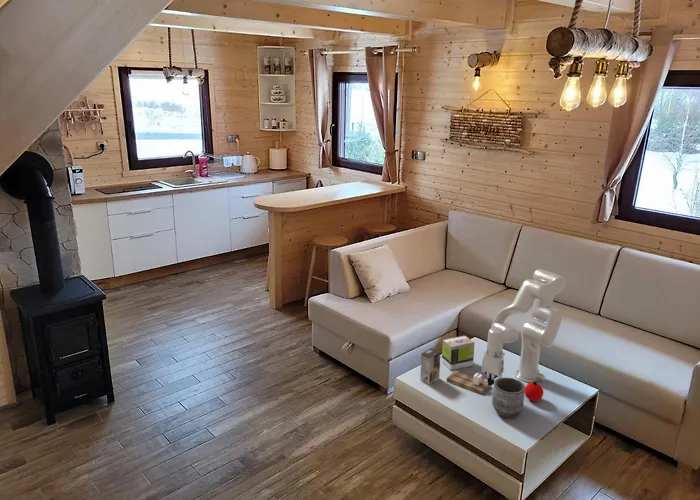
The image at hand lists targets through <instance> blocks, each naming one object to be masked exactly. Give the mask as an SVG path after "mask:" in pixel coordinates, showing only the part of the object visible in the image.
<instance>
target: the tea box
mask: <svg viewBox="0 0 700 500" xmlns="http://www.w3.org/2000/svg"><path fill="white" fill-rule="evenodd" d="M441 347H442V348H441V350H442V351H441V352H442V353H441V363H442V365H444V366H445V367H446V368H447V369H449V370H450V371H453V370H454V371H455V370H459V369H462V368H463V369H464V368H469V367H472V366H474V358H475V342H474V341H473V340H472V339H470V338H469V337H467V336H466V335H461V336H456V337H449V338H446V339H445V338H444V339H442V345H441Z"/></svg>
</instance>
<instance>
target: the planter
mask: <svg viewBox="0 0 700 500" xmlns="http://www.w3.org/2000/svg"><path fill="white" fill-rule="evenodd" d="M525 387H526V385H525V384H524V383H523V382H522V381H521V380H518V379H517V378H516V379H515V378H512V377H501V378H498V377H497V378H495V379H494V384H493V389H492V390H493V391H492V399H491V400H492V401H491V403H492V404H491V405H492V407H493V409H494V411H495V412H496V414H497V416H500V417H502V418H504V419H514V418H516V417H517V416H518V415H519V414H520V413H521V412H522V411H523V410H524V409H523V408H524V403H525V402H524V401H525V400H524V399H525Z"/></svg>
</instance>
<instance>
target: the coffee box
mask: <svg viewBox="0 0 700 500" xmlns="http://www.w3.org/2000/svg"><path fill="white" fill-rule="evenodd" d="M441 352H442V351H439V350H437V349H435V348H433V347H431V348H429V349H427V350H425V351H424V352H422V353H421V356H420V359H421V361H420V373H419V374H420V377H419V380H420V381H421V382H423V383H425V384H427V385H431V384H433V383H434V382H436V381H438V380H439V379H440V372H441V356H442V353H441Z"/></svg>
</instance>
